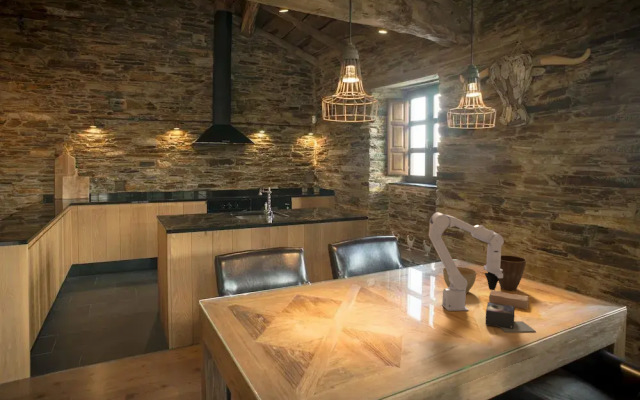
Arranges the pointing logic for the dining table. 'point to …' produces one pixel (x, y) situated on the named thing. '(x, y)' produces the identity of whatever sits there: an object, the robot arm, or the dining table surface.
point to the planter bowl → (466, 273)
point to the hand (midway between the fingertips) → (492, 289)
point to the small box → (500, 315)
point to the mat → (519, 327)
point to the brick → (509, 299)
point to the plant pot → (511, 271)
